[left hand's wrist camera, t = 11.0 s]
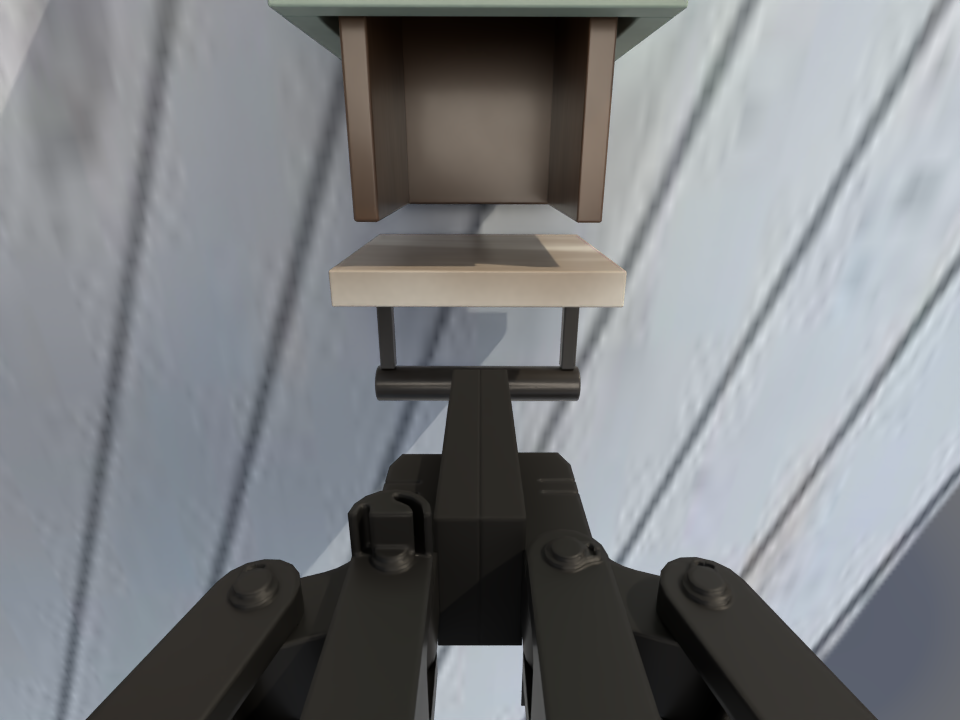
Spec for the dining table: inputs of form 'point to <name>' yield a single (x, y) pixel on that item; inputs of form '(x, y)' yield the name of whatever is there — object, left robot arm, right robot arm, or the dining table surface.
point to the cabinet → (480, 14)
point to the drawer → (477, 175)
